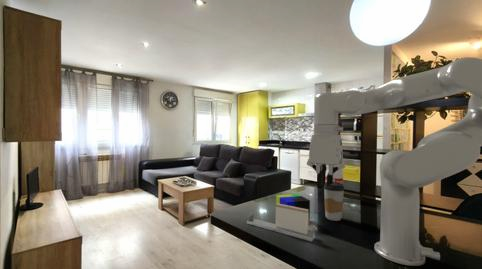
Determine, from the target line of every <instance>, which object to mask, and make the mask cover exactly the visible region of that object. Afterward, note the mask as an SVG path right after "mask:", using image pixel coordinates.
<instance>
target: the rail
mask: <svg viewBox="0 0 482 269" xmlns="http://www.w3.org/2000/svg"><path fill="white" fill-rule="evenodd" d="M254 217H255V216H254V213H250V214H248V215H247V216H246V224H247V225H250V226H254V227H258V228H260V229H261V228H262V229H265V230H268V231H272V232H275V233H280V234H283V235H287V236H291V237H294V238H296V239H297V238H298V239H300V240H304V241H308V242H311V243H312V242H313V241H314V240H315V238H316V228H311V229H310V230H308V234H304V233H300V232H296V231H292V230H289V229H285V228H281V227H277V226H275V224H276V223H272V222H268V221H266V220H261V219H258V218H254Z"/></svg>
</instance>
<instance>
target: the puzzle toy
mask: <svg viewBox="0 0 482 269" xmlns="http://www.w3.org/2000/svg"><path fill="white" fill-rule="evenodd" d="M275 196H276V197H275V205H276V204H277V203H278V204H283V205H288V206H293V207H298V208H303V209H308V210H309V218H308V227H309V226H310V223H311V221H310V220H311V219H310V218H311V213H310V212H311V200H310V199H308V198H306V197H304V196H302V195H301V194H298V193H292V194H276V195H275Z"/></svg>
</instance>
